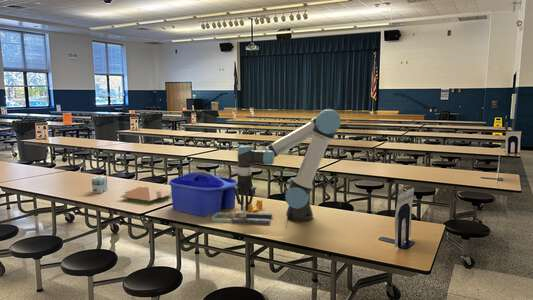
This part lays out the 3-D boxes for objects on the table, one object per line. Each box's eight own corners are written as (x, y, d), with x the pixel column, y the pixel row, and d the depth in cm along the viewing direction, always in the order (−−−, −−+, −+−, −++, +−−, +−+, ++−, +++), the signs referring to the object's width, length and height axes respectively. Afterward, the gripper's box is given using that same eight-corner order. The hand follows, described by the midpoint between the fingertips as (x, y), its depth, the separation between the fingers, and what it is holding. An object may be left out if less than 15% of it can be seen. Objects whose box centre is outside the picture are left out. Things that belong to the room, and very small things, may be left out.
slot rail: (272, 219, 210) (272, 213, 209) (269, 227, 197) (269, 220, 196) (237, 217, 212) (237, 211, 212) (232, 225, 200) (232, 219, 199)
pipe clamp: (252, 216, 216) (252, 205, 215) (246, 214, 218) (246, 204, 217) (264, 211, 225) (264, 200, 224) (258, 209, 228) (258, 199, 227)
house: (153, 206, 236) (153, 193, 235) (115, 200, 250) (114, 188, 249) (176, 197, 257) (176, 185, 256) (139, 192, 271) (139, 181, 269)
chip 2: (244, 218, 207) (243, 211, 206) (242, 220, 203) (242, 213, 202) (236, 217, 208) (236, 210, 207) (235, 220, 204) (235, 213, 203)
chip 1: (236, 217, 207) (234, 210, 207) (235, 219, 204) (232, 212, 203) (230, 219, 208) (227, 212, 208) (228, 221, 204) (225, 215, 204)
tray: (236, 217, 212) (236, 212, 212) (231, 224, 201) (231, 219, 200) (216, 216, 214) (216, 211, 213) (210, 223, 202) (210, 218, 202)
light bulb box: (101, 193, 266) (100, 178, 264) (92, 193, 266) (91, 178, 264) (108, 189, 276) (107, 175, 275) (99, 189, 276) (98, 175, 275)
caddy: (194, 197, 257) (193, 163, 253) (247, 207, 233) (247, 170, 230) (159, 208, 230) (157, 171, 227) (215, 221, 207) (214, 180, 203)
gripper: (257, 173, 204) (257, 214, 208) (234, 172, 206) (234, 213, 209) (255, 176, 197) (255, 219, 200) (231, 175, 198) (231, 218, 202)
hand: (244, 216), depth 205 cm, fingers closed
